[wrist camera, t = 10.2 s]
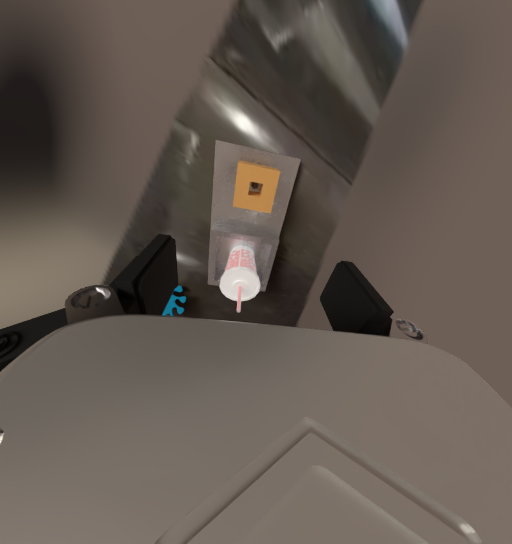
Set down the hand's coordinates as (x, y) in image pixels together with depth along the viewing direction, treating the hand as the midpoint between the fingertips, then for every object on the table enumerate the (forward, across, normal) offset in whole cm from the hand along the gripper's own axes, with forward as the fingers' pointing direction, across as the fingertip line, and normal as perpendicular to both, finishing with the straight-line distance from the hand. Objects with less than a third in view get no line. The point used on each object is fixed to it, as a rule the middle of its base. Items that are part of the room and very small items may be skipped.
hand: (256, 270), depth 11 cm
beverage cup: (+22, 0, +12) cm, 25 cm away
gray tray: (+23, 0, +6) cm, 24 cm away
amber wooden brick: (+19, 0, -1) cm, 19 cm away
